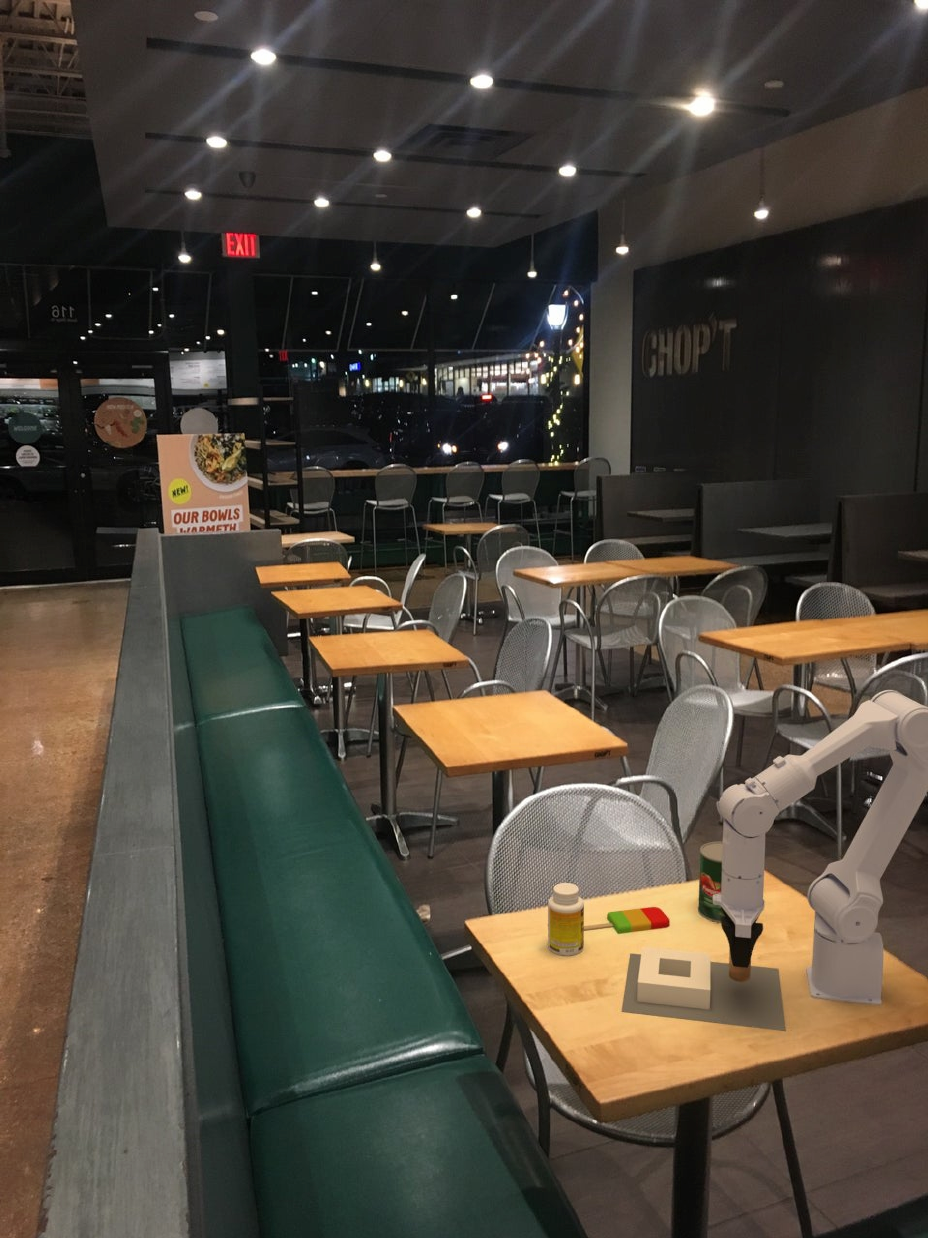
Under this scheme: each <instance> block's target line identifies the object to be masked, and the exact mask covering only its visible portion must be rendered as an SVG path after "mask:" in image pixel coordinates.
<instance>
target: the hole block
mask: <svg viewBox="0 0 928 1238" xmlns="http://www.w3.org/2000/svg"><path fill="white" fill-rule="evenodd" d="M710 962H711V953H710V952H709V953H707V952H698V951H688V950H680V949H679V950H678V949H670V948H660V947H649V946H642V948H641V961H640V968H639V976H638V995H637V1001H638V1002H647V1003H656V1004H665V1005H673V1006H682V1007H691V1008H700V1009H708V1010H710Z"/></svg>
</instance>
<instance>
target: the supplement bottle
mask: <svg viewBox="0 0 928 1238" xmlns="http://www.w3.org/2000/svg"><path fill="white" fill-rule="evenodd" d="M552 890H553V894H552V896H550V898H549V899H548V903H547V921H548V922H547V926H548V927H547V931H548V933H547V937H548V940H547V943H548V944H547V945H548V948H549V950H550V951H551V953H553V954H556V955H559V956H563V957H564V956H567V957H569V956H576V955H578V954H579V953H581V952H582V951H583V949H584V945H585V944H584V943H585V942H584V941H585V940H584V939H585V937H584V936H585V935H584V934H585V933H584V926H585V924H584V923H585V920H584V919H585V903H584V900H583V899H582V898H581V897H580V892H579V891H580V890H579V887H578V886H577V885H576V884H574V883H570V882H561V883H558V884H556V885H554V887H553V889H552Z"/></svg>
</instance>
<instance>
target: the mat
mask: <svg viewBox="0 0 928 1238" xmlns="http://www.w3.org/2000/svg"><path fill="white" fill-rule="evenodd" d="M628 960H629V961H628V966H627V972H626V979H625V986H624V992H623V998H622V999H623V1000H622V1005H621V1006H622V1007H621V1013H628V1014H634V1015H635V1014H636V1015H645V1016H652V1017H662V1018H671V1019H677V1020H687V1021H697V1022H705V1023H713V1024H722V1025H728V1026H729V1025H730V1026H738V1027H739V1026H740V1027H746V1028H747V1027H748V1028H753V1029H754V1028H755V1029H763V1030H773V1031H782V1032H787V1028H786V1022H785V1021H786V1020H785V1012H784V1004H783V997H782V996H783V995H782V986H781V981H780V980H781V979H780V970H779V968H775V967H767V966H765V967H764V966H758V965H757V966H755V965H751V974H750V979H749V980H748V981H745V982H738V981H735V980H733V979H731V978H730V977H729V962H728V963H727V962H720V961H719V962H718V961H710V1010H708V1009H700V1008H691V1007H682V1006H673V1005H665V1004H656V1003H647V1002H638V1001H637V995H638V976H639V968H640V961H641V954H639V953H629V959H628Z"/></svg>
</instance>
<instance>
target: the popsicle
mask: <svg viewBox="0 0 928 1238" xmlns="http://www.w3.org/2000/svg"><path fill="white" fill-rule="evenodd" d="M606 915H607V916H606V918H607V921H608V922H607V923H598V924H590V925H584V931H593V930H600V929H601V930H603V929H608V928H613V929H614V930H615V932H616V933H617V934H618V935H619V934H627V933H636V932H643V931H644V932H645V931H650V930H659V929H660V930H661V929H665V928H669V926H670V918H669V916H667V914H666V913H665V911H663V910H662V909H661V908H660V907H657V906H650V907H642V908H634V909H633V908H631V909H625V910H618V911H617V910H616V911H609V912H607V914H606Z"/></svg>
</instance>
